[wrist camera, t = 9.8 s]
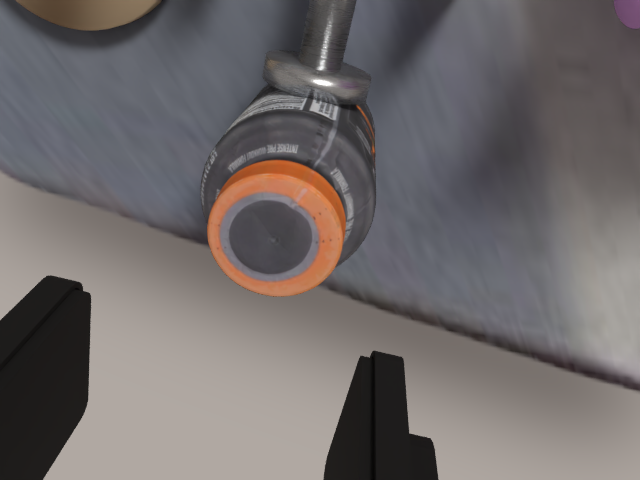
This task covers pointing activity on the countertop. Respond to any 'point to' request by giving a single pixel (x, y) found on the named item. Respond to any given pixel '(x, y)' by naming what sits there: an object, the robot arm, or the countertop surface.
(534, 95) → the countertop surface
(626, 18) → the teapot
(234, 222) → the pill bottle
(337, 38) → the plunger rod
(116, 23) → the wooden coaster
